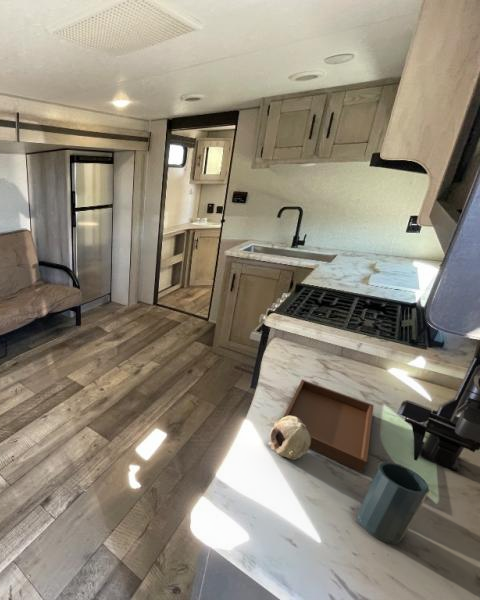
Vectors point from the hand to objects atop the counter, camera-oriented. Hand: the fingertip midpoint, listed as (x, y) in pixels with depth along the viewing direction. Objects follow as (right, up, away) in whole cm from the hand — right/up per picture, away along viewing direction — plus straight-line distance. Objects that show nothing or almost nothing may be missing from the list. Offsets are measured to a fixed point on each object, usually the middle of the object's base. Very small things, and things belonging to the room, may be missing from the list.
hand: (450, 476), depth 58 cm
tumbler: (-9, -12, +5) cm, 16 cm away
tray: (+1, -2, +31) cm, 31 cm away
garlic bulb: (-16, -6, +22) cm, 28 cm away
